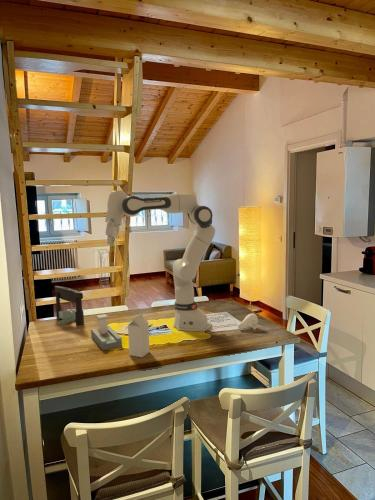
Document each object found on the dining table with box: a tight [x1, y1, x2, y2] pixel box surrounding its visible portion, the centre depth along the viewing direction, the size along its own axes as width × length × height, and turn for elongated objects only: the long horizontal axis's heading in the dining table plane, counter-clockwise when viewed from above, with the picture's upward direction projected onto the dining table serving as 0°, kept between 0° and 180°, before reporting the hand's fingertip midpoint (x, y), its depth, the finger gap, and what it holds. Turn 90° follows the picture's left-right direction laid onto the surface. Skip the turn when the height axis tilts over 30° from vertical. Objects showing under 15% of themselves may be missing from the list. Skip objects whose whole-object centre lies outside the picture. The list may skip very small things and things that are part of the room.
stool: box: [54, 285, 85, 326], centre depth 224 cm, size 16×21×33 cm
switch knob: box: [96, 313, 109, 334], centre depth 192 cm, size 5×5×9 cm
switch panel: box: [90, 325, 123, 351], centre depth 189 cm, size 22×10×4 cm, turn 29°
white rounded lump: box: [237, 313, 259, 331], centre depth 202 cm, size 6×8×12 cm
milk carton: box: [127, 313, 150, 358], centre depth 171 cm, size 7×7×19 cm
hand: (110, 244), depth 195 cm, fingers open, 8 cm apart
